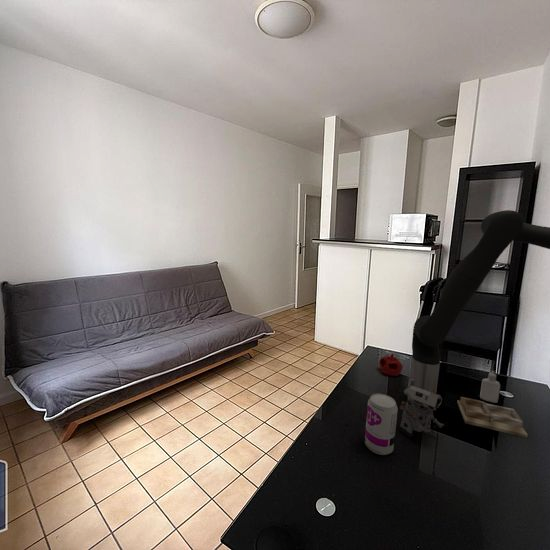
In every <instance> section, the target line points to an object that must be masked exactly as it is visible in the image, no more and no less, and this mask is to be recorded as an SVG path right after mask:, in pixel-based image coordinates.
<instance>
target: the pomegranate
mask: <svg viewBox="0 0 550 550" xmlns="http://www.w3.org/2000/svg"><path fill="white" fill-rule="evenodd" d="M394 355H395V354H394V353H391V354H390V355H387V354H386V355H385V356H381V358H380V359H379V361H378V362H379V363H378V365H379V369H380V371H381V372H382V373H383V374H385V375H387V376H390V377H396V376H397V377H398V376H399V375H400V374H401V373H402V370H403V368H404V367H403V364H402V362H401V361H400V359H398V357H397V356H394Z"/></svg>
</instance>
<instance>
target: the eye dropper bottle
mask: <svg viewBox="0 0 550 550" xmlns="http://www.w3.org/2000/svg"><path fill="white" fill-rule="evenodd" d="M500 392H501V384H500V381H497V374H495V370H491V371H490V372H489V373H488V375H487V378H483V379H482V380H481V386H480V393H479V397H480V399H481V400H482V401H483V400H484V402H485V401H486V402H489V403H493V404H495V403H496V404H497V403H498V401H499V396H500Z"/></svg>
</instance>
